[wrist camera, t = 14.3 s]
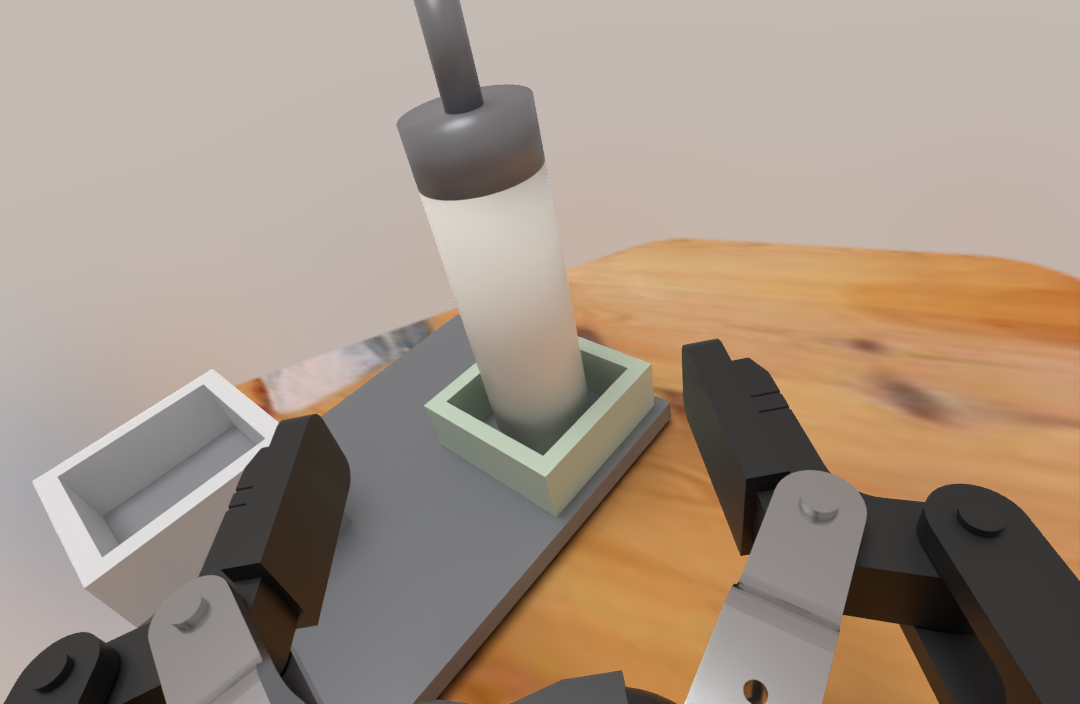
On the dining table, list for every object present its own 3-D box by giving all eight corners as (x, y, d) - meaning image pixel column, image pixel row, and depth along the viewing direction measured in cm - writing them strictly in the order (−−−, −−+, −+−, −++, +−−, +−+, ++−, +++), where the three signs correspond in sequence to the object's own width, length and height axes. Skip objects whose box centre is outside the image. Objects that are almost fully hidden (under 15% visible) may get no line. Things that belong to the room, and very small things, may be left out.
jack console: (295, 867, 16) (156, 806, 12) (130, 582, 24) (16, 491, 20) (670, 418, 26) (665, 302, 22) (461, 328, 35) (429, 233, 31)
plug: (552, 477, 23) (416, -23, 13) (482, 437, 26) (319, -9, 15) (611, 414, 26) (538, -60, 15) (542, 382, 28) (436, -43, 17)
